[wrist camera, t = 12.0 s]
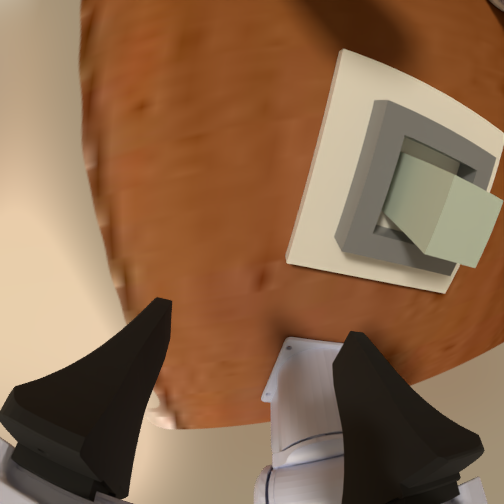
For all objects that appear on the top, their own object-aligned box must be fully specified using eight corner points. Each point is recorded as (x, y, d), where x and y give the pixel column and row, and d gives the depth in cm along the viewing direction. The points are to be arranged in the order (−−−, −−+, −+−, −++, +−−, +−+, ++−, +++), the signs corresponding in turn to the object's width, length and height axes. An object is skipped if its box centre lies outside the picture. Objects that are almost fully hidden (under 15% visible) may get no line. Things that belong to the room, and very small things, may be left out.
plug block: (427, 224, 18) (475, 268, 12) (380, 210, 17) (424, 254, 12) (446, 171, 16) (503, 200, 11) (399, 151, 16) (454, 174, 10)
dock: (439, 287, 21) (456, 307, 19) (285, 255, 20) (288, 279, 18) (497, 132, 15) (522, 139, 12) (338, 51, 14) (353, 41, 11)
